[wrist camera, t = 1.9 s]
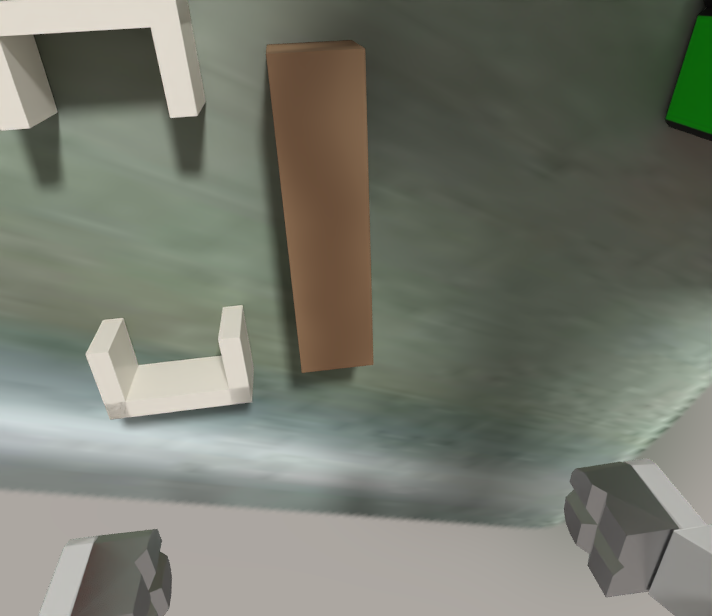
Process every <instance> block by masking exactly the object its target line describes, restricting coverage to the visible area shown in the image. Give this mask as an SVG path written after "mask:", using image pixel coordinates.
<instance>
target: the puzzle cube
mask: <svg viewBox="0 0 712 616" xmlns="http://www.w3.org/2000/svg"><path fill="white" fill-rule="evenodd" d="M704 2H705V5H706V7H707V8H706V9H705V10H703V11H702V12H701V13H700V14H699V15H698V16H697V19H696V23H695V26H694V29H693V32H692V35H691V38H690V42H689V45H688V48H687V51H686V54H685V57H684V61H683V64H682V67H681V70H680V73H679V77H678V80H677V83H676V86H675V89H674V92H673V96H672V99H671V102H670V105H669V108H668V112H667V115H666V118H665V120H666V122H667V124H668V126H669V127H672V128H675V129H678V130H681V131H684V132H687V133H690V134H693V135H695V136H698V137H701V138H704V139H707V140H710V141H712V0H704Z"/></svg>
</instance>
